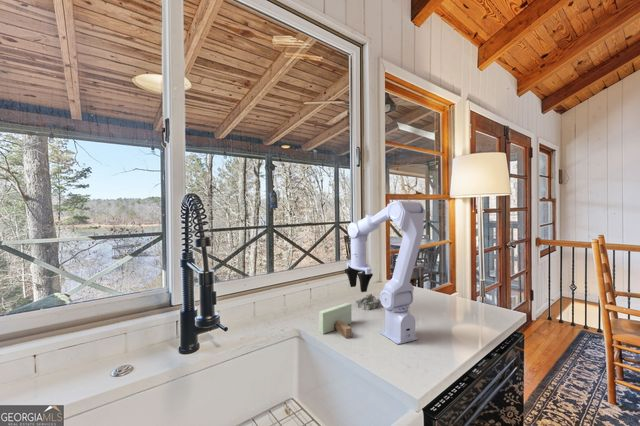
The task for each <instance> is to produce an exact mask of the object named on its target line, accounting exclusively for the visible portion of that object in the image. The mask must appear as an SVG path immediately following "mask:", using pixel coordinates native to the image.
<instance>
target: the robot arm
mask: <svg viewBox="0 0 640 426" xmlns="http://www.w3.org/2000/svg"><path fill="white" fill-rule="evenodd" d="M425 215H426V209H425V208H424V206H423V204H422V203H421V202H420V201H418V200H413V201H412V200H410V201H409V200H408V201H407V200H404V201H403V200H401V201H400V200H394V201H393V200H392V201H391V202H390V203H387V205H386V207H384V208H383V209H381V210H379V212H377V213H376V214H371V213H368V214H365V217H364V218H362V219H361V218H360V219H358V221H357V222H350V223H348V224H349V225H348V226H347V235H348V236H349V238H350V261H347V262H346V268H344V271H345V273H346V275H347V278H348V282H349V285H350V288H355V287H356V286H357V282H358V281H359V288H360V292H361V293H366V292H368V287H369V284H370V281H371V280H372V277H373V276H374V273H372V268H371V267H369V265H368V264H367V256H366V255H367V241H368V237H369V234H370V233H372V232H374V231H375V230H377V229H379V227H380V224H382V223H384V222H387V221H389V220H392V222H393V223H394V224H395V225H396V226H397V228H398V229H399V230H400V231H401V232H402V234H403V236H402V239H401V241H400V248H399V251H398V254H397V258H396V262H395V266H394V268H393V269H394V270H393V274H392V278H391V279H390V280H389V281H387V282H386V283H385V284H384V287H383V288H382V290H381V292H380V294H379V300H380V301H381V307H382V306H383V309H384V315H385V316H384V318H385V320H384V324H385V325H384V329H382V330H380V331H379V334H381V335H383V336H384V337H386V338H387V339H388V340H390V341H392V342H393V343H395V344H397V345H400V344H404V343H408V342H412V341H416V340H418V337H416V318H415V316H414V315H413V314H411V313H410V311H409V309H410V308H411V307H410V306H411V304H413V302H414V289H415V286H413V284H412V283H411V279H412V275H413V272H414V268H415V266H416V265H415V264H416V261H417V258H418V254H419V252H420V248H421V244H422V240H423V236H424V232H425V230H424V229H425V228H424V227H425V226H424V220H425ZM357 280H358V281H357Z"/></svg>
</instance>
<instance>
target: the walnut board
mask: <svg viewBox="0 0 640 426" xmlns="http://www.w3.org/2000/svg"><path fill="white" fill-rule="evenodd" d="M334 330H335V331H336V332H337V333H338V334H340V335H341V336H343V337H344V338H345V339H351V338H352V337H353V336H352V335H353V334H352V333H353V332H352V331H353V329H352V327H351V326H349V324H348V325H347V324H345V323H344V322H342V321H341V320H340V321H336V324H334Z"/></svg>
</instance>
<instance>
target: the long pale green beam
mask: <svg viewBox="0 0 640 426" xmlns="http://www.w3.org/2000/svg"><path fill="white" fill-rule="evenodd" d="M340 320H341V321H342V322H344V323H345V324H347V325H348V326H349V325H350V324H352V303H349V302H344V303H342V304H339V305H335V306H332V307H328V308H326V309H323V310H319V311H318V333H320V334H322V335H325V334H327V333H329V332H332V331H334V330H335V329H334V324H336V321H340Z"/></svg>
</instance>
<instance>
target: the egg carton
mask: <svg viewBox="0 0 640 426" xmlns="http://www.w3.org/2000/svg"><path fill="white" fill-rule="evenodd" d="M355 303H356V308H357V309H359V308H360V309H362V310H363V311H370V309H376V308H377V307H378V308H381V307H382V304H381V301H380V297H379V298H376V296H375V295H373V294H372V293H370V294H367V295H365V297H363V298H359V299H358V300H355Z"/></svg>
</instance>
